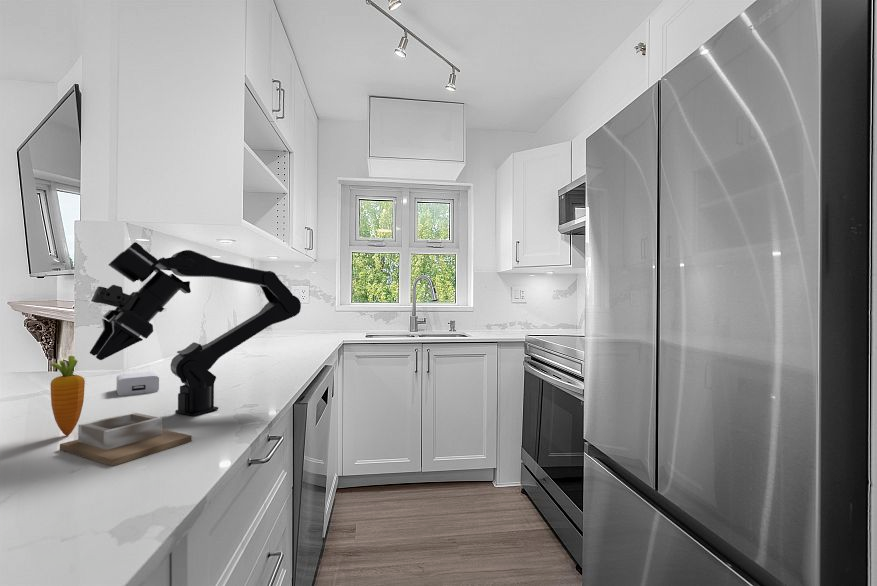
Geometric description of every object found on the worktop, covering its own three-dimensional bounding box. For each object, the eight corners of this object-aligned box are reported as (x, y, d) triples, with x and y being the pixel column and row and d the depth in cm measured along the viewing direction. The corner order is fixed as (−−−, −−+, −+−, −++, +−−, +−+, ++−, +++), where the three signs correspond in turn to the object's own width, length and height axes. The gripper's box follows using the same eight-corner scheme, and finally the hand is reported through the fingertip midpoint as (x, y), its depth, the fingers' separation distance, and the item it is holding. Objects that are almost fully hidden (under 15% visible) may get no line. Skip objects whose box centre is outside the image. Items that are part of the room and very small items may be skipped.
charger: (153, 383, 131) (158, 392, 119) (115, 387, 126) (117, 397, 114) (153, 368, 131) (159, 375, 120) (115, 371, 126) (117, 379, 114)
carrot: (64, 440, 79) (64, 358, 79) (42, 438, 80) (43, 357, 80) (91, 432, 84) (91, 355, 84) (70, 430, 85) (71, 354, 85)
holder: (139, 428, 86) (140, 408, 86) (191, 441, 79) (191, 419, 79) (59, 449, 74) (60, 426, 74) (112, 466, 67) (112, 440, 67)
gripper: (110, 273, 95) (50, 330, 88) (126, 269, 82) (56, 336, 75) (155, 304, 101) (102, 360, 94) (177, 306, 88) (117, 370, 81)
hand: (94, 356), depth 86 cm, fingers open, 9 cm apart
